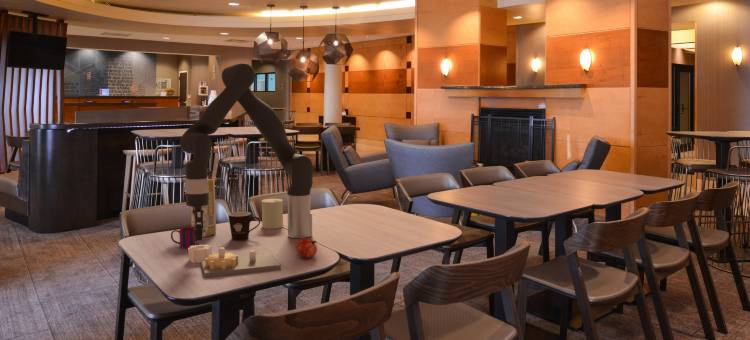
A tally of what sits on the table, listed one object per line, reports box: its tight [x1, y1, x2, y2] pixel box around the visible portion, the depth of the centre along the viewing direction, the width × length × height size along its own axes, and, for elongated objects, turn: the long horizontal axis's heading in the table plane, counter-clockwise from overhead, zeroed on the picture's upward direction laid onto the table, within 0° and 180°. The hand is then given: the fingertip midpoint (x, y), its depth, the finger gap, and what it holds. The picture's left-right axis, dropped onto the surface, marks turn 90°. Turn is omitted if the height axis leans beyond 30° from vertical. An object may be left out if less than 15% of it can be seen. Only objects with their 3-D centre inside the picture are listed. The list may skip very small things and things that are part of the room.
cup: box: [170, 226, 200, 250], centre depth 209 cm, size 7×10×7 cm
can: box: [261, 198, 284, 230], centre depth 240 cm, size 9×9×12 cm
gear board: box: [200, 246, 282, 278], centre depth 184 cm, size 24×14×7 cm, turn 111°
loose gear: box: [187, 244, 213, 264], centre depth 192 cm, size 8×6×4 cm
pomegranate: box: [295, 237, 318, 259], centre depth 195 cm, size 7×7×10 cm
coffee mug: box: [228, 211, 261, 242], centre depth 219 cm, size 12×9×10 cm
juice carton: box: [190, 175, 217, 238], centre depth 225 cm, size 9×8×24 cm
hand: (198, 237), depth 191 cm, fingers open, 8 cm apart
